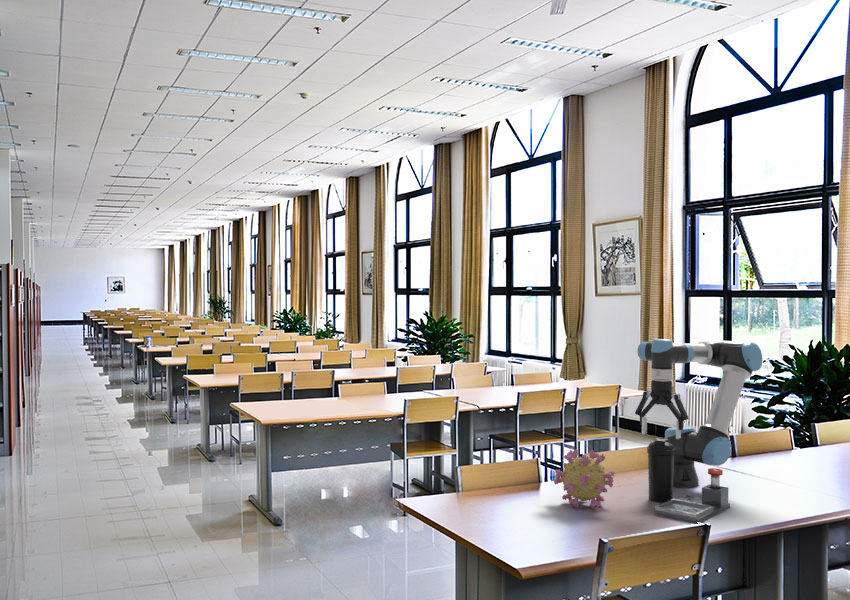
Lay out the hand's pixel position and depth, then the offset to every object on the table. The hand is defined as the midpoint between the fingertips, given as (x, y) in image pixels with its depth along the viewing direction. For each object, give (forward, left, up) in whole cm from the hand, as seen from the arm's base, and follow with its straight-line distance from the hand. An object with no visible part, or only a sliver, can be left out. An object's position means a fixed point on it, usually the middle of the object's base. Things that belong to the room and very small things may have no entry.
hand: (661, 436), depth 289 cm
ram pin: (+19, +3, -18) cm, 27 cm away
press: (+15, -6, -24) cm, 29 cm away
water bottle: (0, 0, -24) cm, 24 cm away
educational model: (-17, -27, -24) cm, 40 cm away
